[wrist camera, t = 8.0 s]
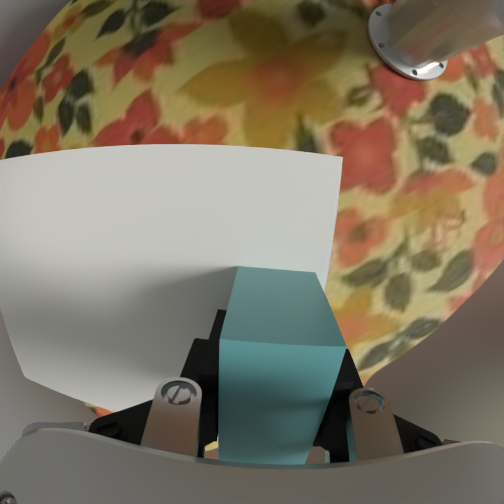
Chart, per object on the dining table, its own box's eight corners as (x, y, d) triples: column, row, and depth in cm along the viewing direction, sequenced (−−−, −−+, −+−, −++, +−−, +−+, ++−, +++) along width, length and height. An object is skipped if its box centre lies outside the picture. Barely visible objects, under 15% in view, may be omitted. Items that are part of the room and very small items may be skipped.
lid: (3, 161, 12) (-82, 175, 5) (330, 158, 12) (403, 153, 5) (38, 362, 17) (-10, 416, 10) (287, 414, 16) (292, 508, 9)
